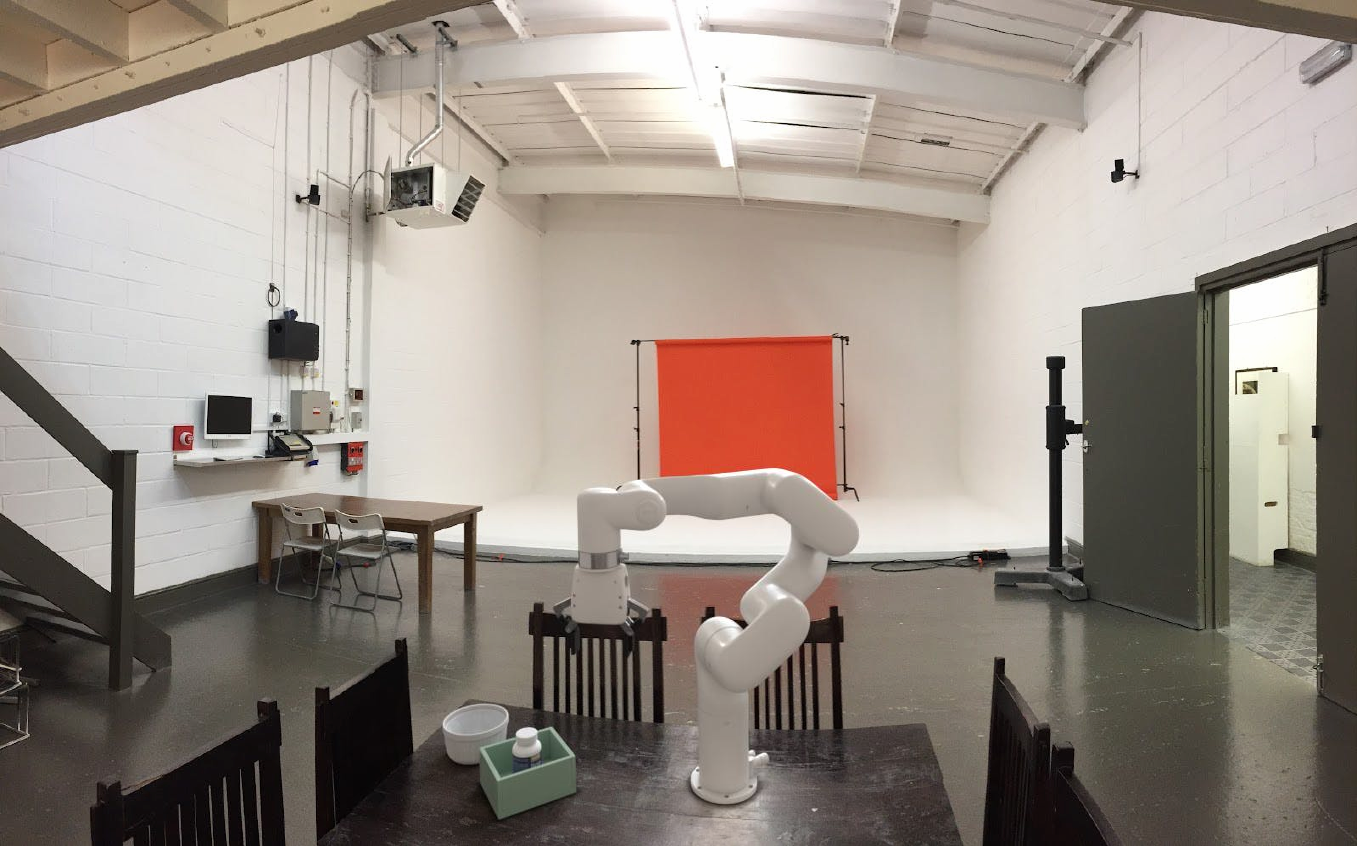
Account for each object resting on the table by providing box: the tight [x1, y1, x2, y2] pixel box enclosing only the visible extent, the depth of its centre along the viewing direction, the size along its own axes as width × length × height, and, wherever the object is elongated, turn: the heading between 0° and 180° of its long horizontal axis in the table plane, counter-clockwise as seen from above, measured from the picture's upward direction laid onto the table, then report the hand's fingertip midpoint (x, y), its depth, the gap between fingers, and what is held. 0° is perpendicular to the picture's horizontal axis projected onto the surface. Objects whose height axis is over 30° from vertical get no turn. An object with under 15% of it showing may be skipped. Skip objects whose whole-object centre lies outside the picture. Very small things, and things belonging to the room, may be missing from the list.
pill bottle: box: [512, 727, 542, 774], centre depth 123 cm, size 5×5×10 cm
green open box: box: [479, 726, 577, 820], centre depth 123 cm, size 15×13×7 cm
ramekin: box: [441, 703, 510, 766], centre depth 136 cm, size 13×13×7 cm
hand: (601, 653), depth 116 cm, fingers open, 9 cm apart
